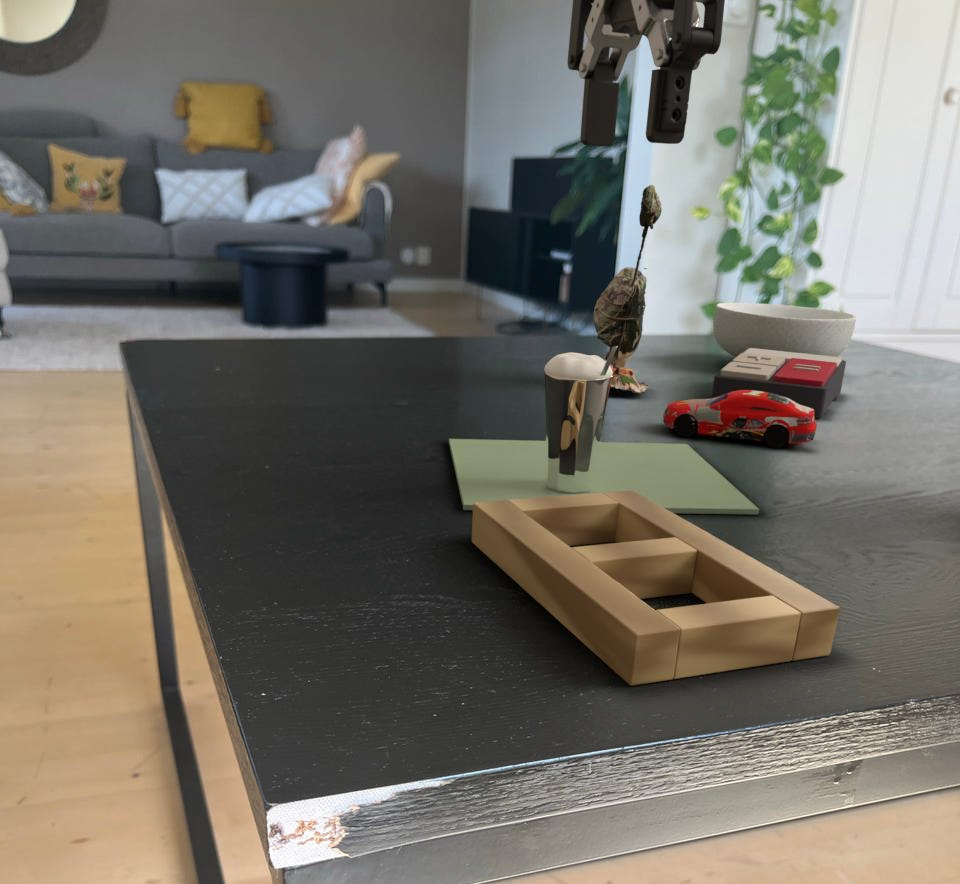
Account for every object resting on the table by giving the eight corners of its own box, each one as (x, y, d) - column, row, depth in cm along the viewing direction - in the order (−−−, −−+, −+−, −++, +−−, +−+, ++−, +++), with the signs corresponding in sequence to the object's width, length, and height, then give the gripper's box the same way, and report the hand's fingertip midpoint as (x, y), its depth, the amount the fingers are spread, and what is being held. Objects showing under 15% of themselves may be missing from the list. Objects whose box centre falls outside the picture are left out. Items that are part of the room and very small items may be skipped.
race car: (655, 434, 87) (660, 389, 86) (668, 422, 92) (673, 379, 90) (810, 453, 83) (818, 405, 81) (815, 439, 88) (823, 394, 86)
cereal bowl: (857, 385, 114) (869, 321, 111) (711, 375, 116) (719, 312, 113) (832, 362, 129) (843, 305, 126) (704, 353, 131) (711, 298, 128)
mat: (686, 448, 83) (687, 443, 83) (758, 514, 67) (759, 509, 66) (448, 443, 81) (448, 438, 81) (463, 510, 65) (463, 504, 65)
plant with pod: (654, 382, 110) (676, 186, 102) (644, 401, 100) (669, 185, 92) (582, 376, 112) (598, 182, 104) (566, 394, 102) (582, 181, 94)
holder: (629, 527, 63) (633, 489, 62) (830, 655, 47) (840, 607, 46) (471, 542, 59) (472, 502, 58) (630, 686, 43) (636, 634, 42)
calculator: (714, 368, 98) (746, 342, 110) (709, 410, 100) (740, 381, 112) (828, 380, 94) (848, 353, 106) (820, 425, 96) (840, 393, 108)
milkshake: (576, 503, 66) (589, 349, 62) (523, 484, 70) (532, 337, 65) (623, 492, 68) (639, 344, 64) (569, 474, 72) (581, 333, 68)
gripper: (794, -209, 50) (745, 146, 57) (652, -138, 62) (625, 149, 69) (667, -237, 48) (631, 139, 54) (544, -157, 60) (527, 143, 66)
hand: (628, 144), depth 62 cm, fingers open, 8 cm apart
